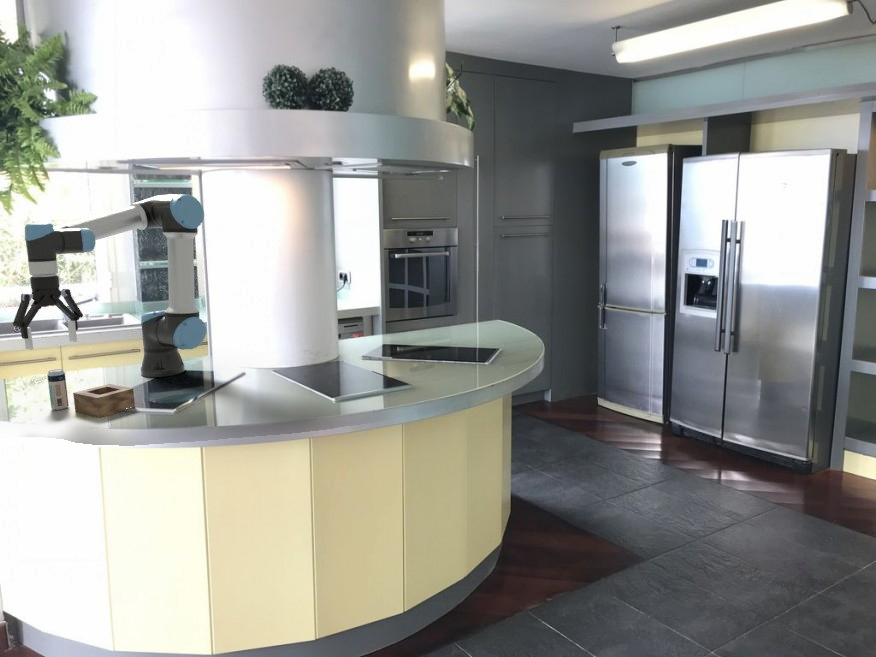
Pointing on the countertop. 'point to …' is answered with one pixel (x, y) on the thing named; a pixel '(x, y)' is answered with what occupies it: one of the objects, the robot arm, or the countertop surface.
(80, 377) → the countertop surface
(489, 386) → the countertop surface
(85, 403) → the wooden box
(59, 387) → the beer can
